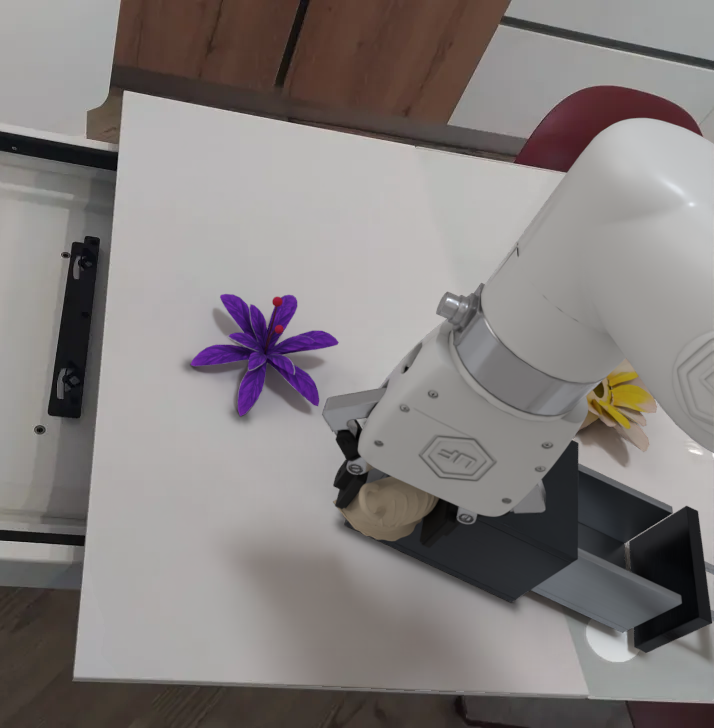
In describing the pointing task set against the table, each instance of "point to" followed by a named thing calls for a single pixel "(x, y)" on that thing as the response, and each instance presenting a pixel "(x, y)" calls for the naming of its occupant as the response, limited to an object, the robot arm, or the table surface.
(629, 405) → the decorative flower
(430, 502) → the decorative ornament
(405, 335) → the table surface
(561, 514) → the cabinet
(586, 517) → the drawer with silver handle
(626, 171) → the robot arm
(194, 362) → the decorative flower
